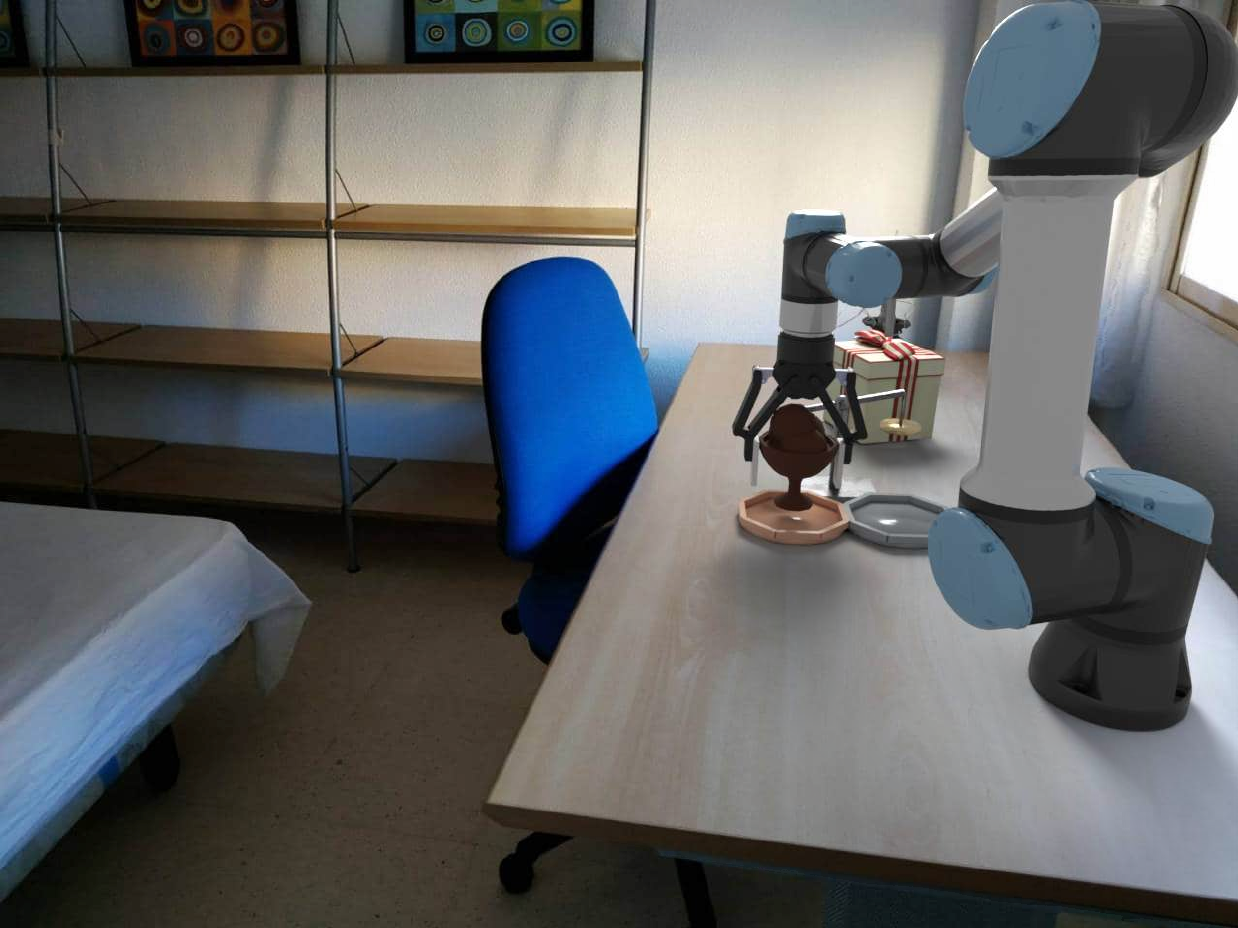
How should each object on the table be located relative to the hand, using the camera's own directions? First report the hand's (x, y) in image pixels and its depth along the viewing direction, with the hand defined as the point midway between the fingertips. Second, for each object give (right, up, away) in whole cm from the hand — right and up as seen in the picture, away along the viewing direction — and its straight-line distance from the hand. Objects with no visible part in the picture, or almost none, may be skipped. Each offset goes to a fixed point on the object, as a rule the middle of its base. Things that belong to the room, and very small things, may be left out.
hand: (795, 483), depth 138 cm
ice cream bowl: (0, -3, +1) cm, 3 cm away
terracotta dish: (0, -5, +2) cm, 6 cm away
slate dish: (+15, -6, +1) cm, 16 cm away
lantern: (+32, +24, +78) cm, 87 cm away
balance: (+8, -2, +12) cm, 15 cm away
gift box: (+23, +9, +41) cm, 48 cm away
